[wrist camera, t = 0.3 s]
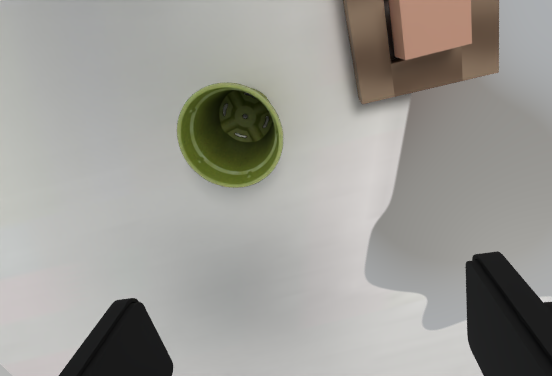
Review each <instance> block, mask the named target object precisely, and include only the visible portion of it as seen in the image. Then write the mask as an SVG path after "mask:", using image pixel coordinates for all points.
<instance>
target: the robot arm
mask: <svg viewBox="0 0 552 376" xmlns="http://www.w3.org/2000/svg"><path fill="white" fill-rule="evenodd" d="M466 293H467V333H468V342H469V345H470V348H471V351H472V353H473V355H474V357H475V359H476V361H477V363H478V365H479V367H480V369H481V371H482V373H483V375H484V376H552V302H544V303H543V302H542V301H541V300H540V298H539V297H538V296H537V295H536V294H535V292H534V291H533V290H532V289H531V288H530V287H529V285H528V284H527V283H526V282H525V281H524V279H523V278H522V277H521V276H520V275H519V274H518V272H517V271H516V270H515V269H514V268H513V266H512V265H511V264H510V263H509V262H508V261H507V260H506V258H505V257H504V256H503V255H502V254H501V253H500V252H491V253H483V254H476V255H474V256H473V259H472V261H467V262H466ZM172 373H173V363H172V360H171V358H170V356H169V354H168V352H167V350H166V348H165V346H164V344H163V342H162V340H161V338H160V336H159V334H158V332H157V330H156V329H155V327H154V325H153V323H152V321H151V319H150V317H149V315H148V313H147V311H146V309H145V307H144V305H143V304H142V303H141V302H139V301H138V300H137V299H135V298H130V299H122V300H117V301H115V302H114V303H113V304H112V305H111V306H110V307H109V309H108V310H107V311H106V313H105V314H104V315H103V317H102V318H101V319H100V321H99V322H98V324H97V325H96V326H95V328H94V329H93V330H92V332H91V333H90V334H89V336H88V337H87V338H86V340H85V341H84V342H83V344H82V345H81V346H80V348H79V349H78V350H77V352H76V353H75V354H74V356H73V357H72V358H71V360H70V361H69V363H68V364H67V365H66V367H65V368H64V369H63V371H62V372H61V373H60V375H59V376H172Z"/></svg>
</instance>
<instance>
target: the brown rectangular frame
mask: <svg viewBox="0 0 552 376" xmlns="http://www.w3.org/2000/svg"><path fill="white" fill-rule="evenodd" d="M343 3H344V9H345V16H346V22H347V28H348V34H349V41H350V47H351V53H352V59H353V66H354V72H355V78H356V84H357V91H358V97H359V100H360V101H361V103H362V104H366V103H370V102H374V101H379V100H383V99H387V98H391V97H396V96H400V95H404V94H409V93H413V92H417V91H421V90H425V89H430V88H434V87H438V86H443V85H447V84H451V83H455V82H460V81H464V80H468V79H472V78H477V77H480V76H485V75H489V74H494V73H498V72H499V0H471V23H472V44H468V45H464V46H460V47H456V48H452V49H448V50H444V51H440V52H436V53H432V54H428V55H424V56H421V57H417V58H413V59H409V60H403V59H400V58H395V59H391V60H390V52H389V44H388V35H387V27H386V18H385V10H384V1H383V0H343Z"/></svg>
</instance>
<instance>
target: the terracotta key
mask: <svg viewBox="0 0 552 376" xmlns="http://www.w3.org/2000/svg"><path fill="white" fill-rule="evenodd" d="M388 1H389V10H390V19H391V28H392V37H393V46H394V55H395V57H398V58H400V59H403V60H409V59H413V58H417V57H421V56H424V55H428V54H432V53H436V52H440V51H444V50H448V49H452V48H456V47H460V46H464V45H468V44H472V23H471V0H388Z"/></svg>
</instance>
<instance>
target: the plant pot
mask: <svg viewBox="0 0 552 376" xmlns="http://www.w3.org/2000/svg"><path fill="white" fill-rule="evenodd" d="M244 93H249V94H251V95H252V96H254V97H256V98H254V97H252V96H248V95H245V94H244ZM225 104H228V107H227V109H226V113H225V116H224V114H223V108H224V105H225ZM244 114H246V115H247V118H246V119H245V118H243V115H244ZM266 116H268V118H269V121H268V124H267V126H266V128H263V125H264V123H265V120H266ZM236 132H237V133H239V134H242V135H246V136H247V137H246V138H243V137H238V136H236V135H235V133H236ZM177 138H178V142H179V146H180V149H181V152H182V154H183V156H184V158H185V160H186V161H187V163H188V164H189V165H190V167H191V168H192V169H193V170H194V171H195V172H197V173H198V174H199V175H200V176H201V177H203V178H204V179H206V180H207V181H209V182H212V183H214V184H217V185H220V186H224V187H233V188H239V187H246V186H250V185H253V184H255V183H257V182H259V181H261V180H263V179H264V178H265V177H267V176H268V175H269V174H270V173H271V172H272V171H273V169H274V168H275V167H276V165H277V163H278V161H279V159H280V156H281V153H282V148H283V131H282V126H281V122H280V119H279V117H278V115H277V113H276V111H275V109H274V108H273V106H272V105H271V104H270V102H269V101H268V99H267V98H266V97H265V96H264V95H263V94H262V93H261V92H259V91H257V90H255V89H253V88H249V87H247V86H244V85H241V84H236V83H217V84H213V85H209V86H207V87H204V88H202V89H200V90H199V91H197V92H196V93H194V94H193V95H192V96H191V97H190V98H189V99H188V100H187V101H186V103H185V104H184V106H183V108H182V110H181V112H180V115H179V118H178V123H177Z"/></svg>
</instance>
